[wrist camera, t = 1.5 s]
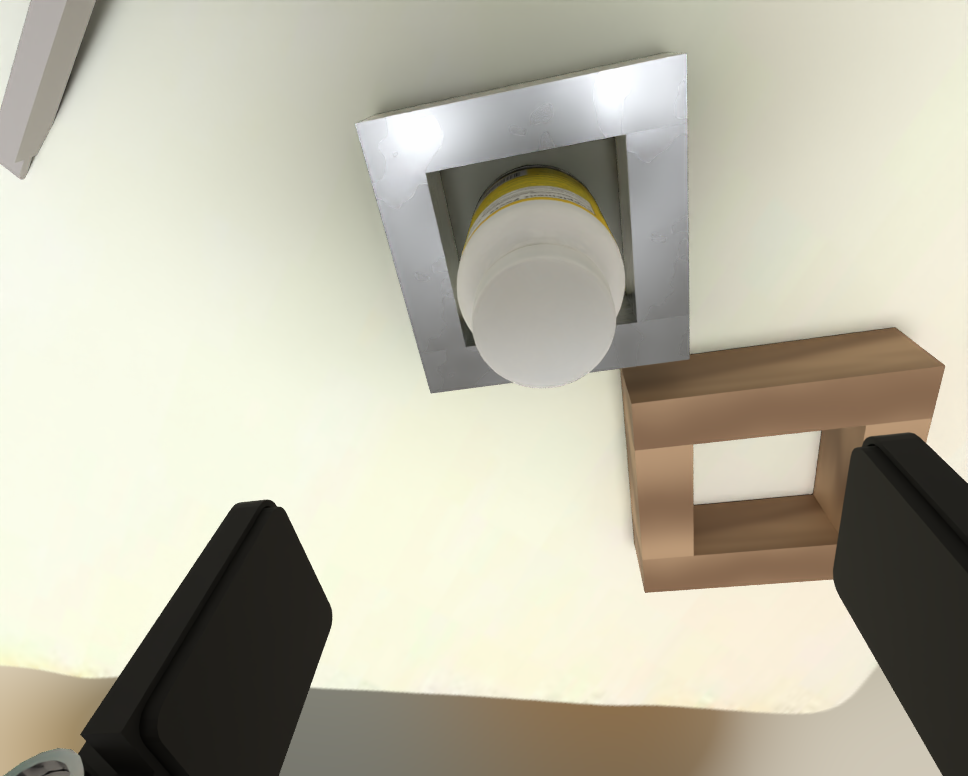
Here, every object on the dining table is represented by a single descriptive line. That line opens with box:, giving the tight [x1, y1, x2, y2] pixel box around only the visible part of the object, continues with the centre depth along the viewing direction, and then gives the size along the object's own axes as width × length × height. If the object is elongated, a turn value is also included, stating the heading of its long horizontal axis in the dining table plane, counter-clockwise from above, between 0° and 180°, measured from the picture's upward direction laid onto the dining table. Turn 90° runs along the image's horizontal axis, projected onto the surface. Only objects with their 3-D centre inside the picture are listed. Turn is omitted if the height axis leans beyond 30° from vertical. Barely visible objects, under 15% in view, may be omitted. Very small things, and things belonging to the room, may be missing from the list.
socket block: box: [355, 52, 690, 393], centre depth 23 cm, size 11×11×3 cm
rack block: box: [620, 328, 945, 593], centre depth 27 cm, size 12×12×4 cm
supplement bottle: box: [457, 165, 625, 388], centre depth 20 cm, size 5×5×10 cm
